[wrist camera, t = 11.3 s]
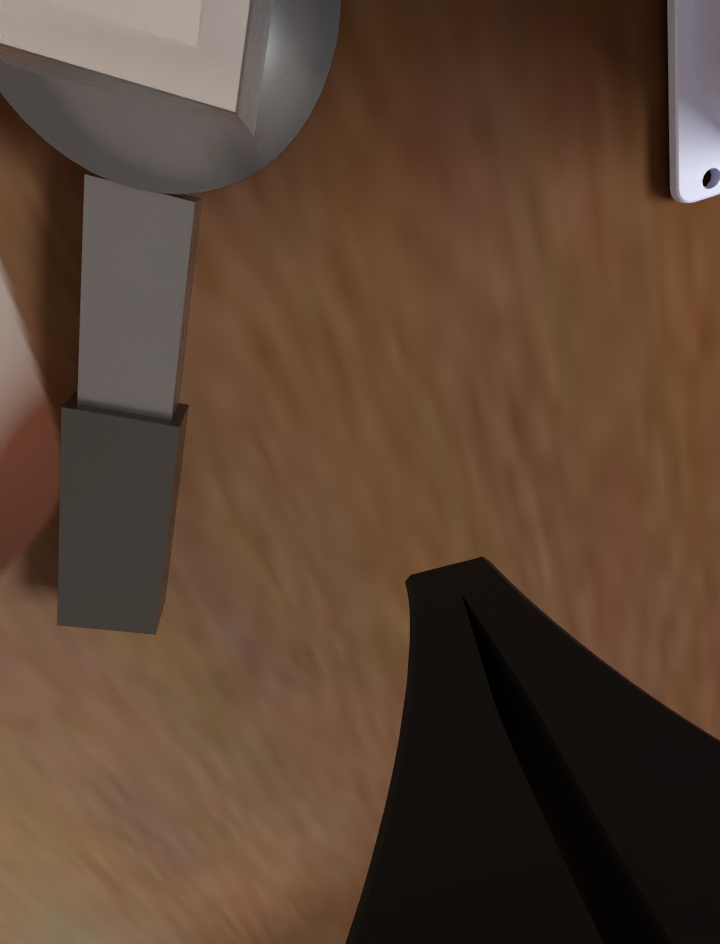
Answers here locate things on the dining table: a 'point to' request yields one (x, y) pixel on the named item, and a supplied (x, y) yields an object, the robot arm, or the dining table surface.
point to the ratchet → (146, 304)
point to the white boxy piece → (148, 51)
